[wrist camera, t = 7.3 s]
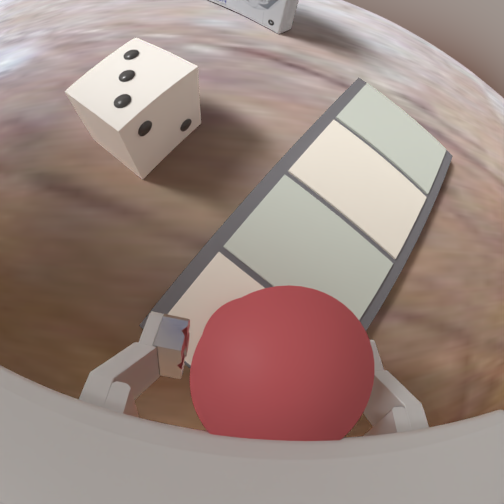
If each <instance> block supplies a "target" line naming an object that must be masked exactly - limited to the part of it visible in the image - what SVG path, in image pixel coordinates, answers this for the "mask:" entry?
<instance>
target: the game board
mask: <svg viewBox="0 0 504 504" xmlns="http://www.w3.org/2000/svg"><path fill="white" fill-rule="evenodd" d="M451 159H452V155H451V154H450V153H449V152H448V151H447V150H446V149H445V148H444V147H443V146H442V145H441V144H440V143H439V142H438V141H437V140H436V139H435V138H434V137H433V136H432V135H431V134H430V133H429V132H427V131H426V130H425V129H424V128H423V127H422V126H421V125H420V124H419V123H417V122H416V121H415V120H414V119H413V118H412V117H410V116H409V115H408V114H407V113H406V112H404V111H403V110H402V109H401V108H399V107H398V106H397V105H396V104H394V103H393V102H392V101H391V100H389V99H388V98H387V97H385V96H384V95H383V94H382V93H380V92H379V91H378V90H376V89H375V88H373V87H372V86H371V85H369V84H368V83H366V82H364V81H363V80H362V79H360V78H358V79H357V80H356V81H355V82H354V83H353V84H352V85H351V86H350V87H349V88H348V89H347V90H346V91H345V92H344V93H343V94H342V95H341V96H340V97H339V98H338V99H337V100H336V101H335V102H334V103H333V104H332V105H331V106H330V107H329V108H328V109H327V111H326V112H325V113H324V114H323V115H322V116H321V117H320V118H319V119H318V120H317V121H316V122H315V123H314V124H313V125H312V126H311V127H310V128H309V129H308V130H307V132H306V133H305V134H304V135H303V136H302V137H301V138H300V139H299V140H298V141H297V142H296V143H295V144H294V145H293V146H292V148H291V149H290V150H289V151H288V152H287V153H286V154H285V155H284V156H283V157H282V158H281V160H280V161H279V162H278V163H277V164H276V165H275V166H274V167H273V168H272V169H271V170H270V172H269V173H268V174H267V175H266V176H265V177H264V178H263V179H262V180H261V182H260V183H259V184H258V185H257V186H256V187H255V188H254V189H253V190H252V192H251V193H250V194H249V195H248V196H247V197H246V198H245V200H244V201H243V202H242V203H241V204H240V205H239V206H238V207H237V209H236V210H235V211H234V212H233V213H232V214H231V215H230V217H229V218H228V219H227V220H226V221H225V222H224V224H223V225H222V226H221V227H220V228H219V229H218V230H217V232H216V233H215V234H214V235H213V236H212V237H211V239H210V240H209V241H208V242H207V243H206V245H205V246H204V247H203V248H202V249H201V250H200V252H199V253H198V254H197V255H196V256H195V258H194V259H193V260H192V261H191V262H190V264H189V265H188V266H187V267H186V268H185V270H184V271H183V272H182V273H181V274H180V276H179V277H178V278H177V279H176V280H175V282H174V283H173V284H172V285H171V287H170V288H169V289H168V290H167V291H166V293H165V294H164V295H163V296H162V298H161V299H160V300H159V301H158V303H157V304H156V305H155V306H154V308H153V309H152V310H151V311H150V313H151V312H152V311H153V312H158V313H162V314H168V315H173V316H177V317H182V318H187V319H190V328H189V333H190V336H189V345H188V351H187V356H186V357H185V362H184V364H185V365H186V366H188V367H189V368H191V363H192V358H193V355H194V352H195V349H196V346H197V344H198V342H199V340H200V338H201V336H202V334H203V331H204V328H205V326H206V324H207V322H208V320H209V319H210V317H211V316H212V315H213V313H214V312H215V311H216V310H217V309H219V308H220V307H221V306H223V305H224V304H226V303H227V302H230V301H232V300H235V299H238V298H241V297H243V296H245V295H248V294H250V293H252V292H255V291H258V290H261V289H264V288H269V287H275V286H287V285H291V286H302V287H307V288H312V289H315V290H318V291H321V292H324V293H326V294H328V295H330V296H332V297H334V298H336V299H337V300H338V301H340V302H341V303H343V304H344V305H345V306H346V307H347V308H348V309H350V310H351V311H352V312H353V313H354V315H355V316H356V317H357V318H358V320H359V321H360V322H361V324H362V326H363V327H364V329H365V331H366V330H367V329H368V327H369V325H370V324H371V322H372V321H373V319H374V317H375V316H376V314H377V313H378V311H379V309H380V308H381V306H382V304H383V303H384V301H385V299H386V297H387V296H388V294H389V292H390V291H391V289H392V287H393V285H394V283H395V282H396V280H397V278H398V276H399V274H400V272H401V271H402V269H403V267H404V265H405V263H406V261H407V259H408V257H409V255H410V253H411V251H412V249H413V247H414V245H415V243H416V241H417V239H418V237H419V235H420V233H421V231H422V229H423V227H424V225H425V222H426V220H427V218H428V216H429V214H430V211H431V209H432V207H433V205H434V202H435V200H436V198H437V195H438V193H439V190H440V188H441V185H442V183H443V180H444V178H445V175H446V173H447V170H448V167H449V165H450V162H451ZM150 313H149V314H150ZM149 314H148V315H147V316H146V318H145V319H144V320H143V321H142V323H141V324H140V325H139V326H140V327H141V328H142V329H144V327H145V324H146V321H147V319H148V316H149Z"/></svg>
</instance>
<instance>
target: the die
mask: <svg viewBox="0 0 504 504" xmlns="http://www.w3.org/2000/svg"><path fill="white" fill-rule="evenodd" d="M65 93H66V95H67V96H68V98H69V100H70V102H71V103H72V105H73V107H74V108H75V110H76V112H77V113H78V115H79V117H80V118H81V120H82V122H83V123H84V125H85V126H86V128H87V130H88V131H89V133H90V135H91V136H92V138H93V139H94V140H95V141H96V142H97V143H99V144H100V145H101V146H102V147H103V148H105V149H106V150H107V151H108V152H109V153H111V154H112V155H113V156H114V157H116V158H117V159H118V160H119V161H120V162H122V163H123V164H124V165H125V166H126V167H128V168H129V169H130V170H131V171H133V172H134V173H135V174H136V175H137V176H139V177H140V178H141V179H142V180H143V179H144V178H145V177H146V176H147V175H148V174H149V173H150V172H151V171H152V170H153V169H154V168H155V167H156V166H157V165H158V164H159V163H160V162H161V161H162V160H163V159H164V158H165V157H166V156H167V155H168V154H169V153H170V152H171V151H172V150H173V149H174V148H175V147H176V146H177V145H178V144H179V143H180V142H181V141H182V140H184V139H185V138H186V137H187V136H188V135H189V134H190V133H191V132H192V131H193V130H194V129H196V128H197V127H198V126H199V125H200V124H201V111H200V95H199V77H198V66H196V65H194V64H192V63H190V62H188V61H186V60H184V59H182V58H180V57H178V56H176V55H174V54H172V53H170V52H168V51H165V50H163V49H161V48H159V47H157V46H154V45H152V44H150V43H148V42H145V41H143V40H141V39H138V38H136V37H135V38H134V39H132V40H131V41H129V42H128V43H126V44H125V45H123V46H122V47H120V48H119V49H117V50H116V51H115V52H113V53H112V54H110V55H109V56H108V57H106V58H105V59H104V60H102V61H101V62H100V63H98V64H97V65H96V66H94V67H93V68H92V69H91V70H89V71H88V72H87V73H86V74H84V75H83V76H82V77H81V78H80V79H78V80H77V81H76V82H75V83H74V84H73V85H71V86H70V87H69V88H68V89H67V90H66V91H65Z"/></svg>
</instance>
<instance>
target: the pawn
mask: <svg viewBox="0 0 504 504" xmlns="http://www.w3.org/2000/svg"><path fill="white" fill-rule="evenodd" d="M374 373H375V370H374V356H373V350H372V347H371V343H370V340H369V338H368V335H367V333H366V331H365V329H364V327H363V326H362V324H361V322H360V321H359V320H358V318H357V317H356V316H355V315H354V313H353V312H352V311H351V310H350V309H348V308H347V307H346V306H345V305H344V304H343V303H341V302H340V301H338V300H337V299H336V298H334V297H332V296H330V295H328V294H326V293H324V292H321V291H318V290H315V289H312V288H307V287H302V286H291V285H287V286H275V287H269V288H264V289H261V290H258V291H255V292H252V293H250V294H248V295H245V296H243V297H241V298H238V299H235V300H232V301H230V302H227V303H226V304H224V305H223V306H221V307H220V308H219V309H217V310H216V311H215V312H214V313H213V315H212V316H211V317H210V319H209V320H208V322H207V324H206V326H205V328H204V331H203V334H202V336H201V338H200V340H199V342H198V344H197V346H196V349H195V352H194V355H193V358H192V363H191V368H190V392H191V397H192V401H193V405H194V408H195V410H196V413H197V415H198V417H199V419H200V421H201V422H202V424H203V426H204V427H205V428H206V430H207V431H208V432H209V433H210V434H213V435H221V436H229V437H238V438H249V439H263V440H283V441H332V440H341V439H342V438H343V437H344V436H345V435H346V434H347V433H348V432H349V431H350V430H351V429H352V428H353V427H354V425H355V424H356V423H357V421H358V420H359V418H360V417H361V415H362V413H363V412H364V410H365V408H366V406H367V403H368V401H369V398H370V395H371V392H372V387H373V382H374Z"/></svg>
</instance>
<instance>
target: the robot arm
mask: <svg viewBox="0 0 504 504" xmlns="http://www.w3.org/2000/svg"><path fill="white" fill-rule="evenodd" d="M189 328H190V319H187V318H182V317H177V316H173V315H168V314H162V313H158V312H153V311H152V312H151V313H150V314H149V316H148V319H147V321H146V324H145V327H144V329H143V332H142V334H141V337H140V340H139V342H138V343H137V342H134V343H133V344H131V345H130V346H128V347H127V348H125V349H124V350H122V351H121V352H119V353H118V354H116V355H115V356H113V357H112V358H110V359H109V360H107V361H106V362H104V363H103V364H101V365H100V366H98V367H97V368H95V369H94V370H92V371H91V372H90V374H89V376H88V378H87V381H86V383H85V385H84V388H83V390H82V393H81V395H80V397H79V399H76V398H73V397H71V396H68V395H65V394H63V393H60V392H57V391H55V390H52V389H50V388H48V387H45V386H43V385H41V384H38V383H36V382H34V381H31V380H29V379H27V378H25V377H23V376H21V375H19V374H17V373H15V372H13V371H11V370H9V369H7V368H5V367H3V366H1V365H0V504H504V410H496V411H492V412H489V413H486V414H483V415H479V416H476V417H472V418H468V419H464V420H460V421H456V422H452V423H448V424H443V425H438V426H433V427H429V426H428V422H427V419H426V416H425V412H424V409H423V406H422V403H420V402H419V401H418V400H417V399H416V398H415V397H414V396H413V395H412V394H411V393H410V392H409V391H408V390H407V389H406V388H405V387H404V386H403V385H402V384H401V383H400V382H399V381H398V380H397V379H396V378H395V377H394V376H393V375H392V374H390V373H389V372H388V371H387V370H384V368H383V365H382V362H381V359H380V356H379V352H378V349H377V347H376V344H375V341H374V340H370V343H371V347H372V350H373V356H374V370H375V373H374V382H373V387H372V392H371V395H370V398H369V401H368V403H367V406H366V408H365V410H364V412H363V414H364V415H365V416H366V418H367V419H368V420H369V422H370V423H371V424H372V426H373V427H372V428H371V429H370V430H369V431H368V432H367V433H366V434H365V435H364V436H359V437H343V438H342V439H341V440H332V441H283V440H263V439H249V438H238V437H229V436H221V435H213V434H210V433H209V432H208V431H204V430H198V429H192V428H186V427H180V426H175V425H170V424H165V423H160V422H156V421H151V420H147V419H143V418H140V417H139V414H138V411H137V408H136V404H135V401H134V400H135V399H136V398H137V397H139V396H140V395H141V394H142V393H143V392H144V391H145V390H146V389H147V388H148V387H149V386H150V385H151V384H153V383H154V382H155V381H156V380H157V379H158V378H159V377H160V376H165V377H171V378H177V379H182V374H183V370H184V362H185V357H186V356H187V351H188V345H189V336H190V333H189Z"/></svg>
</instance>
